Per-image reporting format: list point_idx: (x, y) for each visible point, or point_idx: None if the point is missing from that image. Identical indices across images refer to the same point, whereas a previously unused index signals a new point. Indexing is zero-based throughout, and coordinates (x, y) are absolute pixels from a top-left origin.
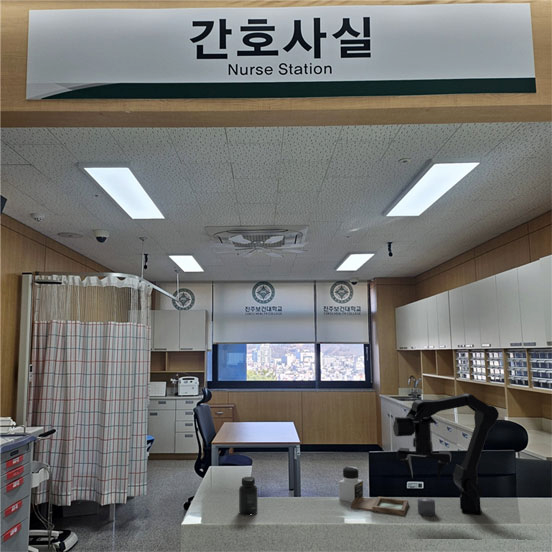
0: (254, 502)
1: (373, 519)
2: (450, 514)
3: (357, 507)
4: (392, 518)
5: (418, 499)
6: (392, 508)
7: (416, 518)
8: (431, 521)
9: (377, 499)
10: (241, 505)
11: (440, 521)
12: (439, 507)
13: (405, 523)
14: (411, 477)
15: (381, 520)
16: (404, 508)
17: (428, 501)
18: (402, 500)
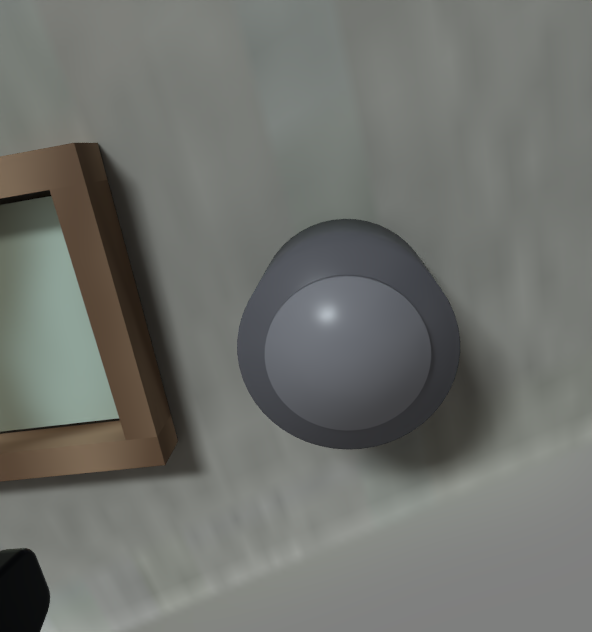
0: None
1: None
2: (585, 212)
3: None
4: (125, 536)
5: (247, 355)
6: (54, 461)
7: (292, 460)
8: (426, 467)
9: None
10: None
11: (502, 435)
12: (438, 39)
13: (247, 581)
14: (24, 628)
15: (76, 597)
16: (146, 413)
17: (389, 403)
18: (25, 192)
